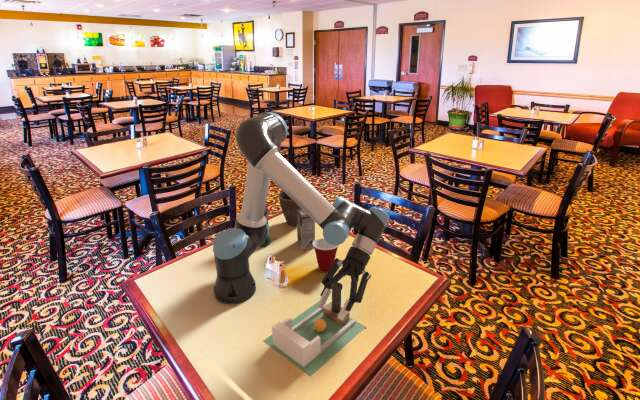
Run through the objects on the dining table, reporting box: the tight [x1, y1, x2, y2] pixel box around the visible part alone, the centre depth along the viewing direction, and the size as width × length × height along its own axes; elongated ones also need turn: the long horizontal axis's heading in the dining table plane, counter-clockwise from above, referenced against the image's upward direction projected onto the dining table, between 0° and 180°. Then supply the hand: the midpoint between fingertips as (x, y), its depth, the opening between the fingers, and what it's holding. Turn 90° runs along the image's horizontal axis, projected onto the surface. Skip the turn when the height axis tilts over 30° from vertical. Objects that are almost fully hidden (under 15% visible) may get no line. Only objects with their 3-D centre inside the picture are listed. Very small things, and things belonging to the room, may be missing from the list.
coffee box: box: [296, 209, 316, 251], centre depth 168 cm, size 9×6×16 cm
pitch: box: [262, 301, 367, 377], centre depth 116 cm, size 20×26×2 cm
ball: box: [314, 319, 326, 332], centre depth 117 cm, size 4×4×4 cm
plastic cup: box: [312, 237, 340, 273], centre depth 150 cm, size 11×11×12 cm
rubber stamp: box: [323, 281, 351, 326], centre depth 121 cm, size 8×4×12 cm, turn 48°
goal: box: [271, 316, 321, 367], centre depth 109 cm, size 13×7×7 cm, turn 48°
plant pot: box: [277, 190, 301, 227], centre depth 188 cm, size 15×15×16 cm
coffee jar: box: [259, 205, 272, 247], centre depth 169 cm, size 10×8×19 cm
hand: (329, 313), depth 119 cm, fingers closed on rubber stamp, 8 cm apart
